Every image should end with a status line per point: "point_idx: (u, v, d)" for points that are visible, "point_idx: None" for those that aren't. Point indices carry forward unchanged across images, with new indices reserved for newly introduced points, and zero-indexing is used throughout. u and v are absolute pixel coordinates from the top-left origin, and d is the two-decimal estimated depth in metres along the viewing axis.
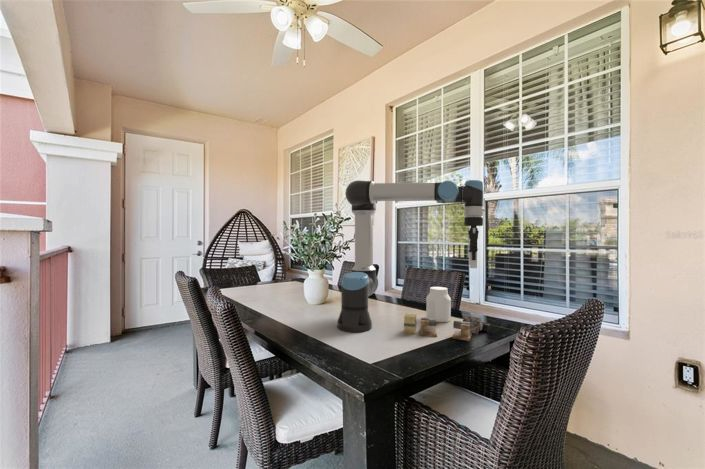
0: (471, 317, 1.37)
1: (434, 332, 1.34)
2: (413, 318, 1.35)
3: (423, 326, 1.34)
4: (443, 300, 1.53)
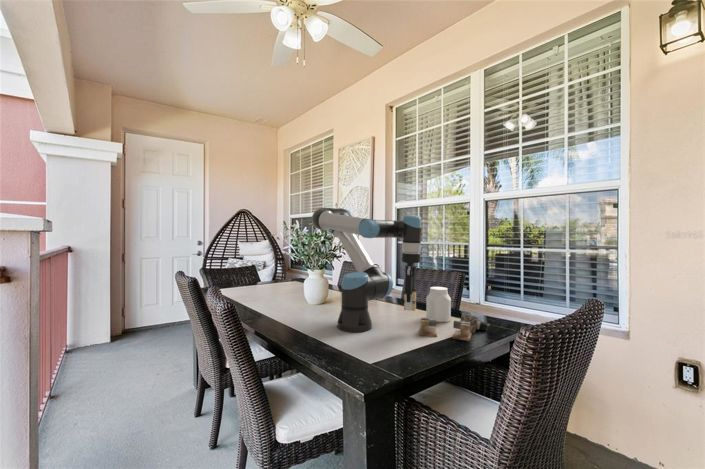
0: (468, 316, 1.39)
1: (434, 332, 1.34)
2: (413, 295, 1.35)
3: (423, 326, 1.34)
4: (443, 300, 1.53)
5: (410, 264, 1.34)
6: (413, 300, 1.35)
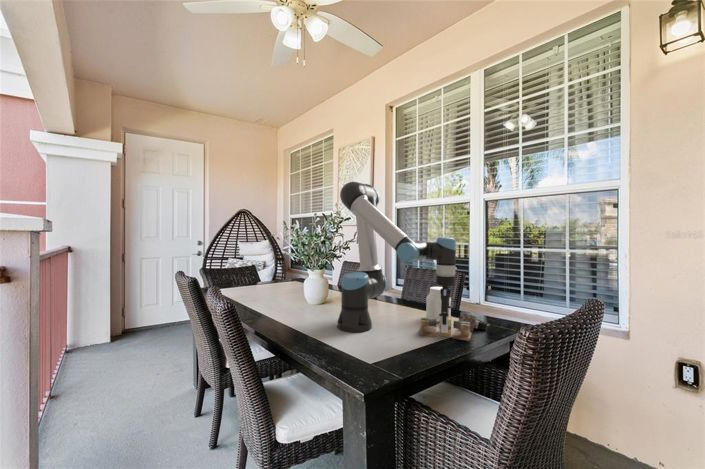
0: (467, 315, 1.41)
1: (434, 332, 1.34)
2: (449, 320, 1.32)
3: (423, 326, 1.34)
4: None
5: None
6: (449, 326, 1.32)
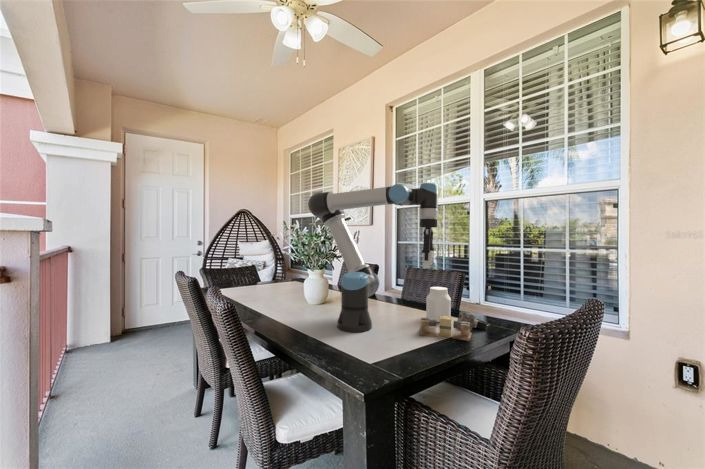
0: (466, 314, 1.42)
1: (434, 332, 1.34)
2: (449, 320, 1.32)
3: (423, 326, 1.34)
4: (443, 300, 1.53)
5: None
6: (449, 326, 1.32)
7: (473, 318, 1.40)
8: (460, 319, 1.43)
